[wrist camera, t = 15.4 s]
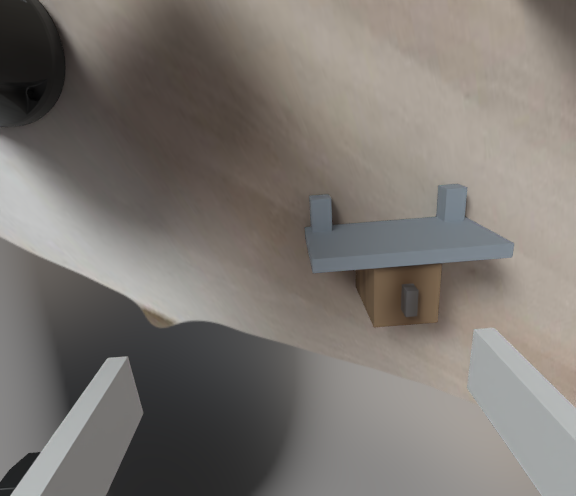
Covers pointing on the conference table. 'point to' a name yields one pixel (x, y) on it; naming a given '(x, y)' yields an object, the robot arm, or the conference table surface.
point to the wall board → (401, 237)
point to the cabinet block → (400, 294)
